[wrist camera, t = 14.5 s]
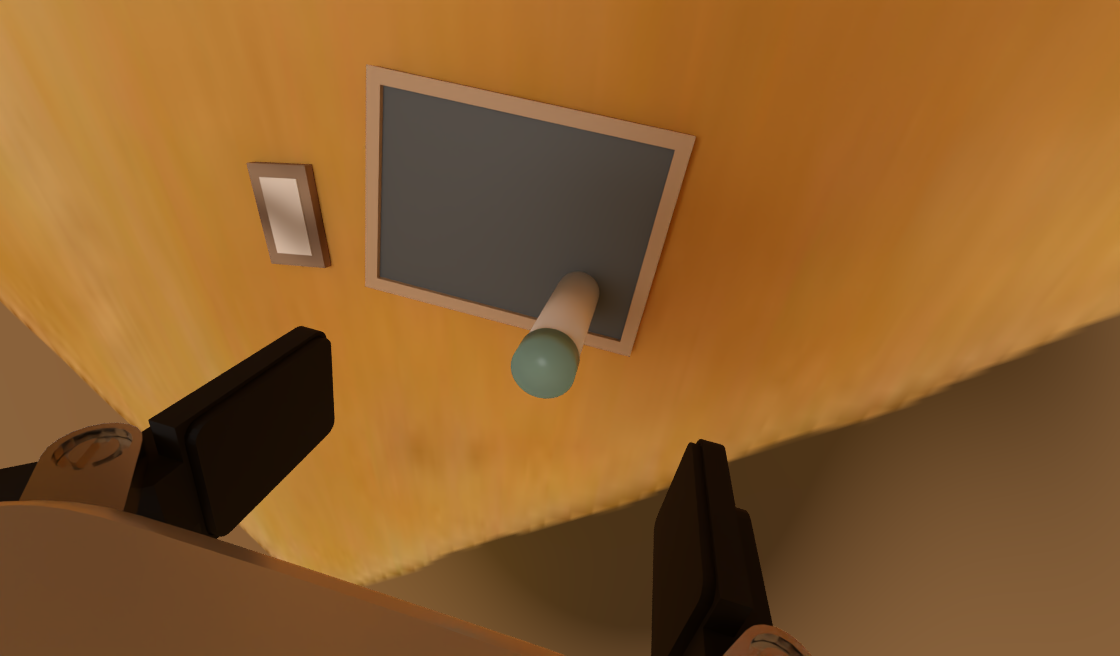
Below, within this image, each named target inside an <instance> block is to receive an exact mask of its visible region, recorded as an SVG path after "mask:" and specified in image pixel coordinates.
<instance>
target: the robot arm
mask: <svg viewBox="0 0 1120 656" xmlns="http://www.w3.org/2000/svg"><path fill="white" fill-rule="evenodd" d="M149 424H150V427H149V428H147V429H146V430H144V431H143V432H141V431H140V430H139V429H138V428H137V427H135V426H132V425H130V424H124V423H103V424H98V425H93V426H88V427H85V428H82V429H79V430H76V431H74V432H71V433H69V434H67V435H66V436H63V437H62V438H60V439H58V440H56V441H55V442H54V443H52V444H51V445H50V446H48V447H47V448H46V450H45V451H44V452H43V454H42V455H41V457H40V459H39V461H38V462H34V463H29V464H25V465H19V466H14V467H9V468H4V469H0V656H566V655H563V654H560V653H557V652H554V651H551V650H549V649H546V648H543V647H540V646H537V645H534V644H532V643H528V642H525V641H523V640H520V639H517V638H514V637H511V636H508V635H505V634H502V633H499V632H496V631H493V630H490V629H487V628H484V627H481V626H478V625H475V624H472V623H469V622H466V621H463V620H460V619H457V618H454V617H452V616H448V615H446V614H443V613H440V612H437V611H433V610H431V609H428V608H425V607H422V606H419V605H415V604H413V603H410V602H407V601H404V600H400V599H398V598H395V597H392V596H389V595H386V594H383V593H380V592H377V591H374V590H371V589H367V588H365V587H362V586H359V585H356V584H353V583H350V582H347V581H344V580H340V579H337V578H334V577H331V576H328V575H325V574H322V573H319V572H316V571H313V570H310V569H307V568H304V567H301V566H298V565H295V564H292V563H289V562H286V561H283V560H280V559H277V558H273V557H270V556H267V555H264V554H261V553H258V552H255V551H252V550H248V549H246V548H243V547H240V546H236V545H233V544H230V543H227V542H224V541H221V540H218V539H217V538H218V537H219V536H221V537H222V536H225V535H227V534H228V533H230V532H231V531H232V530H233V529H234V528H235V527H236V526H237V525H238V524H239V523H240V522H241V521H242V520H243V519H244V518H245V517H246V516H247V515H248V514H249V513H250V512H251V511H252V510H253V509H254V508H255V507H256V506H257V505H258V504H259V503H260V502H261V501H262V500H263V499H264V498H265V497H266V496H267V495H268V494H269V493H270V492H271V491H272V490H273V489H274V488H275V487H276V486H277V485H278V484H279V483H280V482H281V481H282V480H283V479H284V478H285V477H286V476H287V475H288V474H289V473H290V472H291V471H292V470H293V469H294V468H295V467H296V466H297V465H298V464H299V463H300V462H301V461H302V460H303V459H304V458H305V457H306V456H307V455H308V454H309V453H310V452H311V451H312V450H313V449H314V448H315V447H316V446H317V445H318V444H319V443H320V442H321V441H322V440H323V439H324V438H325V437H326V436H327V435H328V434H329V432H330V431H331V429H332V427H333V425H334V398H333V377H332V356H331V343H330V341H329V340H328V339H326V335H325V334H324V333H323V332H321V331H318V330H314V329H311V328H307V327H304V326H299V327H297V328H295V329H293V330H292V331H290V332H288V333H287V334H285V335H284V336H282V337H280V338H279V339H277V340H276V341H274V342H272V343H271V344H269V345H268V346H266V347H264V348H263V349H261V350H260V351H258V352H256V353H255V354H253V355H252V356H250V357H248V358H247V359H245V360H244V361H242V362H240V363H239V364H237V365H236V366H234V367H232V368H231V369H229V370H228V371H226V372H224V373H223V374H221V375H220V376H218V377H216V378H215V379H213V380H212V381H210V382H208V383H207V384H205V385H204V386H202V387H200V388H199V389H197V390H196V391H194V392H192V393H191V394H189V395H187V396H186V397H184V398H183V399H181V400H179V401H178V402H176V403H175V404H173V405H171V406H170V407H168V408H167V409H165V410H163V411H162V412H160V413H159V414H157V415H155V416H154V417H152V418H151V419H149ZM652 599H653V601H652V648H651V656H811V654H810V653H809V652H808V651H807V650H806V649H805V648H804V646H803V645H802V644H801V643H800V642H798V641H797V640H796V639H795V638H794V637H792V636H791V635H790V634H788V633H787V632H785V631H783V630H781V629H778V628H777V627H774V626H773V624H772V620H771V615H770V610H769V605H768V600H767V596H766V591H765V586H764V581H763V577H762V571H761V567H760V562H759V557H758V552H757V548H756V543H755V538H754V533H753V529H752V524H751V519H750V516H749V514H748V512H747V511H746V510H743V509H740V508H736V507H735V502H734V496H733V490H732V485H731V479H730V473H729V468H728V462H727V456H726V451H725V447H724V446H723V445H720V444H717V443H713V442H710V441H706V440H703V439H699V440H698V441H697V443H696V444H695V443H691V442H690V443H689V444H688V446H687V448H686V450H685V453H684V455H683V457H682V460H681V462H680V464H679V467H678V469H677V471H676V474H675V476H674V478H673V481H672V483H671V485H670V488H669V490H668V492H667V495H666V497H665V499H664V502H663V504H662V506H661V509H660V511H659V513H658V516H657V518H656V522H655V527H654V552H653V598H652Z"/></svg>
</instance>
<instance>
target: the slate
mask: <svg viewBox="0 0 1120 656" xmlns="http://www.w3.org/2000/svg"><path fill="white" fill-rule="evenodd" d="M695 138H696V136H693V135H689V134H684V133H680V132H675V131H670V130H666V129H661V128H657V127H652V126H648V125H643V124H638V123H634V122H629V121H625V120H620V119H616V118H611V117H606V116H602V115H597V114H593V113H588V112H584V111H579V110H574V109H570V108H565V107H561V106H556V105H551V104H547V103H542V102H538V101H533V100H529V99H524V98H519V97H515V96H510V95H506V94H501V93H497V92H492V91H487V90H483V89H478V88H474V87H469V86H464V85H460V84H455V83H451V82H446V81H442V80H437V79H432V78H428V77H423V76H419V75H414V74H410V73H405V72H400V71H396V70H391V69H387V68H382V67H378V66H372V65H366V243H365V287H369V288H373V289H377V290H380V291H384V292H388V293H392V294H395V295H399V296H403V297H407V298H410V299H414V300H418V301H422V302H425V303H429V304H433V305H437V306H441V307H444V308H448V309H452V310H456V311H459V312H463V313H467V314H471V315H474V316H478V317H482V318H486V319H489V320H493V321H497V322H501V323H505V324H508V325H512V326H516V327H520V328H523V329H527V330H531V329H532V327H533V325H534V324H535V322H536V320H537V319H538V317H539V315H540V314H541V312H542V310H543V309H544V307H545V305H546V303H547V302H548V300H549V298H550V297H551V295H552V293H553V292H554V290H555V288H556V287H557V285H558V283H559V282H560V280H561V279H562V278H563V277H564V276H565V275H566V274H568V273H571V272H584V273H586V274H588V275H590V276H591V277H593V278H594V280H595V281H596V282H597V284H598V287H599V299H598V302H597V305H596V308H595V311H594V314H593V317H592V320H591V323H590V326H589V329H588V332H587V335H586V338H585V341H584V345H587V346H591V347H595V348H599V349H602V350H606V351H610V352H614V353H617V354H621V355H625V356H629V357H630V354H631V351H632V347H633V344H634V341H635V338H636V334H637V331H638V328H639V324H640V321H641V318H642V314H643V311H644V308H645V304H646V301H647V298H648V294H649V291H650V288H651V284H652V281H653V278H654V274H655V271H656V268H657V264H658V261H659V258H660V254H661V251H662V248H663V245H664V241H665V238H666V235H667V231H668V228H669V225H670V221H671V218H672V215H673V211H674V208H675V205H676V201H677V198H678V195H679V191H680V188H681V185H682V181H683V178H684V175H685V171H686V168H687V165H688V162H689V158H690V155H691V152H692V148H693V145H694V142H695Z"/></svg>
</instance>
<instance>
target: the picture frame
mask: <svg viewBox="0 0 1120 656" xmlns="http://www.w3.org/2000/svg"><path fill="white" fill-rule="evenodd" d="M247 167H248V171H249V175H250V179H251V183H252V187H253V191H254V195H255V199H256V203H257V207H258V211H259V215H260V219H261V223H262V227H263V231H264V235H265V239H266V243H267V247H268V251H269V255H270V259H271V263H273V264H285V265H296V266H308V267H320V268H326V267H328V266H330V265H331V262H330V257H329V252H328V247H327V242H326V237H325V231H324V226H323V221H322V216H321V211H320V206H319V201H318V196H317V190H316V185H315V180H314V175H313V170H312V165H311V164H289V163H267V162H250V163H247Z"/></svg>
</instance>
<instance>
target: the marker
mask: <svg viewBox="0 0 1120 656" xmlns="http://www.w3.org/2000/svg"><path fill="white" fill-rule="evenodd" d="M598 299H599V287H598V284H597V282H596V281H595V280H594V278H593V277H591V276H590V275H588V274H586V273H584V272H571V273H568V274H566V275H565V276H564V277H563V278H562V279H561V280H560V282H559V283H558V285H557V287H556V288H555V290H554V292H553V293H552V295H551V297H550V298H549V300H548V302H547V303H546V305H545V307H544V309H543V310H542V312H541V314H540V315H539V317H538V319H537V320H536V322H535V324H534V325H533V327H532V329H531V330H530V332H529V334H527V335H526V336H525V337H524V339H523V340H522V342H521V344H520V345H519V347H518V348H517V350H516V352H515V353H514V355H513V357H512V361H511V372H512V375H513V378H514V380H515V381H516V383H517V384H518V385H519V387H520V388H522V389H523V390H524V391H525V392H527V393H528V394H530V395H532V396H535V397H539V398H555V397H558V396H560V395H562V394H564V393H565V392H567V391H568V390H569V388H570V387H571V386H572V384H573V381H574V378H575V375H576V372H577V369H578V366H579V361H580V354H581V351H582V348H583V344H584V341H585V338H586V335H587V332H588V329H589V326H590V323H591V320H592V317H593V314H594V311H595V308H596V305H597V302H598Z"/></svg>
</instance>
